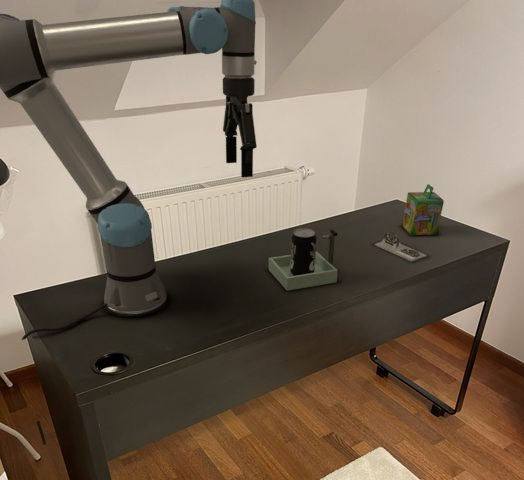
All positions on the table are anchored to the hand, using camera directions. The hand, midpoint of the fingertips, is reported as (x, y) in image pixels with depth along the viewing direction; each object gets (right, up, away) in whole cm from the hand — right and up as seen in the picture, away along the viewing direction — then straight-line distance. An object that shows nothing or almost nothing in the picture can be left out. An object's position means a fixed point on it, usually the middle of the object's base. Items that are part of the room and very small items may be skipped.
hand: (238, 169), depth 134 cm
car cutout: (+48, -16, +26) cm, 57 cm away
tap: (+25, -24, +13) cm, 37 cm away
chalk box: (+58, -7, +40) cm, 71 cm away
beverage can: (+17, -25, +11) cm, 32 cm away
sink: (+17, -26, +11) cm, 33 cm away
